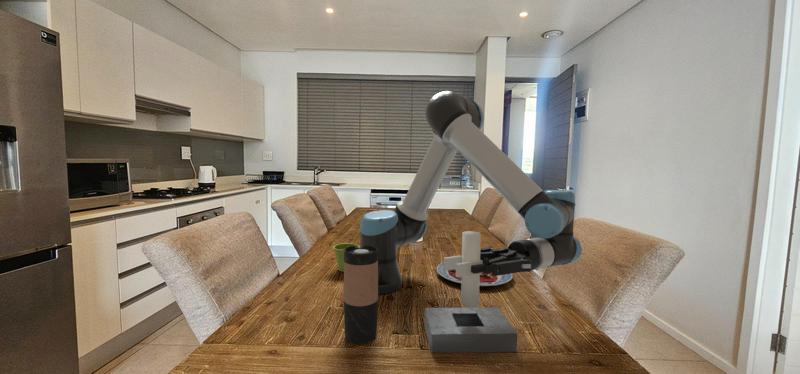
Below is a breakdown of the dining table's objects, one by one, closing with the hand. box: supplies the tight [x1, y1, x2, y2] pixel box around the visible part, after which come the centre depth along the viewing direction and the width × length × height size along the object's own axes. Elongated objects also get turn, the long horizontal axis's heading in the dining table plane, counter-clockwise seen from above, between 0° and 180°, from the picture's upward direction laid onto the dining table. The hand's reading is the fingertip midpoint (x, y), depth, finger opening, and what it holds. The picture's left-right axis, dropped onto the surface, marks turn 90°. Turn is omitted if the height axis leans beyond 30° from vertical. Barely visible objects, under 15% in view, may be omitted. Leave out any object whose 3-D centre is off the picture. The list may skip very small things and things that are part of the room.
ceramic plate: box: [436, 262, 513, 287], centre depth 111 cm, size 26×26×3 cm
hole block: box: [423, 306, 518, 354], centre depth 72 cm, size 18×12×4 cm, turn 92°
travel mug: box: [343, 245, 379, 345], centre depth 71 cm, size 8×8×20 cm
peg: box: [460, 230, 482, 308], centre depth 71 cm, size 4×4×16 cm
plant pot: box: [332, 243, 360, 273], centre depth 115 cm, size 9×9×9 cm
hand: (450, 267), depth 68 cm, fingers closed on peg, 4 cm apart
